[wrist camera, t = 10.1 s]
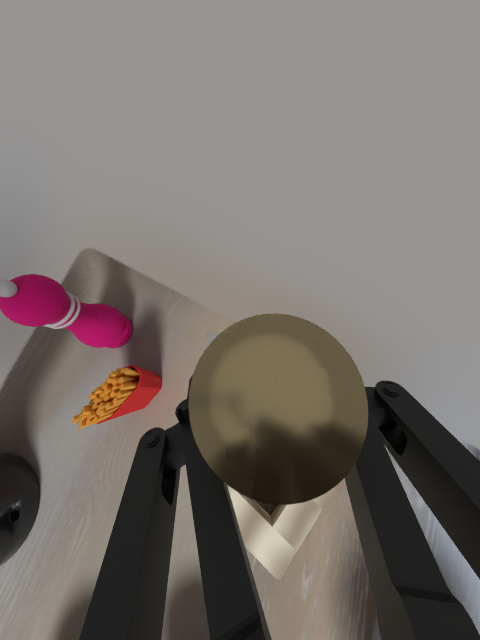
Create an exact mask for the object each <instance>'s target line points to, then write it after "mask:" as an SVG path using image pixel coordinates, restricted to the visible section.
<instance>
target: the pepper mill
mask: <svg viewBox="0 0 480 640" xmlns="http://www.w3.org/2000/svg"><path fill="white" fill-rule="evenodd" d="M0 309H1V311H2V313H3V314H4V315H5V316H6V317H7V318H9V319H10V320H12V321H14V322H16V323H19V324H21V325H25V326H32V327H36V326H46V327H50V328H53V329H60V328H65V329H68V330H70V331H71V332H72V333H73V334H74V335H75V336H76V337H77V339H79V340H80V341H81V342H83V343H84V344H86V345H89V346H92V347H98V348H100V347H108V348H118V347H121V346H122V345H124V344H125V343H127V342H128V340H129V339H130V337H131V335H132V331H133V327H132V323H131V322H130V320H129V319H128V318H126V317H124V316H123V315H122V314H121V313H120V312H119V311H118V310H117V309H116V308H114V307H111V306H109V305H105V304H86V303H82V302H80V301H79V299H78V298H77V297H76V296H75V295H73V294H71V293H69V292H67V291H65V290H64V288H63V287H62V286H61V285H60V284H59V283H58V282H56V281H55V280H53V279H50V278H48V277H45V276H42V275H35V274H29V275H23V276H19V277H16V278H14V279H12V280H10V281H8V280H0Z"/></svg>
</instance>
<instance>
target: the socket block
mask: <svg viewBox="0 0 480 640" xmlns="http://www.w3.org/2000/svg"><path fill="white" fill-rule="evenodd" d="M227 486H228V485H227ZM336 486H337V485H336ZM336 486H335V487H334V488H332V489H331V490H330V491H328V492H327V493H325V494H323V495H321V496H319V497H317V498H315V499H312V500H309V501H306V502H303V503H297V504H291V505H277V507H276V508H275V510H274V511H273V513H272V514H271V516H270V515H269V514H268V513H267V512H266V511H265V510H264V509H263V508H262V507H261V506H260V505H259V504H258V503H257V502H256V501H255V500H253V499H250V498H248V497H246V496H244V495H242V494H240V493H238V492H237V491H235V490H234V489H232V488H231V487H229V486H228V490H229V493H230V497H231V500H232V504H233V507H234V511H235V514H236V518H237V521H238V525H239V528H240V532H241V535H242V539H243V542H244V546H245V547H246V548H247V549H248V550H249V551H250V552H251V553H252V554H253V555H254V556H255V557H256V558H257V559H258V560H259V561H260V562H261V563H262V564H263V565H264V567H265V568H266V569H267V570H268V571H269V572H270V573H271V574H272V575H273V576H274V577H275V578H276V579H277V580H278V581H279V580H280V579H281V577H282V575H283V574H284V572H285V570H286V569H287V567H288V565H289V564H290V562H291V560H292V559H293V557H294V555H295V554H296V552H297V550H298V549H299V547H300V546H301V544H302V542H303V541H304V539H305V537H306V536H307V534H308V532H309V531H310V529H311V527H312V526H313V524H314V522H315V521H316V519H317V517H318V516H319V514H320V512H321V511H322V509H323V508H324V506H325V504H326V503H327V501H328V499H329V498H330V496H331V494H332V493H333V491H334V489H335V488H336Z"/></svg>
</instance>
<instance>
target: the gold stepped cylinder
mask: <svg viewBox="0 0 480 640" xmlns="http://www.w3.org/2000/svg"><path fill="white" fill-rule="evenodd" d="M189 418H190V423H191V428H192V432H193V435H194V438H195V441H196V444H197V446H198V448H199V450H200V452H201V454H202V456H203V458H204V459H205V461H206V462H207V464H208V465H209V467H210V468H211V469H212V470H213V471H214V473H215V474H216V475H217V476H218V477H219V478H220V479H221V480H222V481H223V482H225V483H226V484H227V485H228V486H229V487H231V488H232V489H234V490H235V491H237V492H238V493H240V494H242V495H244V496H246V497H248V498H250V499H253V500H257V501H260V502H263V503H269V504H275V505H291V504H297V503H303V502H306V501H309V500H312V499H315V498H317V497H319V496H321V495H323V494H325V493H327V492H328V491H330V490H331V489H332V488H334V487H335V486H336V485H338V484H339V483H340V482H341V481H342V480H343V479H344V477H345V476H346V475H347V474H348V473H349V471H350V470H351V469H352V467H353V466H354V464H355V462H356V461H357V459H358V457H359V455H360V453H361V450H362V447H363V444H364V441H365V437H366V432H367V426H368V402H367V396H366V391H365V387H364V384H363V381H362V378H361V375H360V373H359V371H358V369H357V366H356V365H355V363H354V361H353V360H352V358H351V356H350V355H349V354H348V352H346V350H345V348H344V347H343V346H342V345H341V344H340V343H339V342H338V341H337V340H336V339H335V338H334V337H333V336H332V335H330V334H329V333H328V332H326V331H325V330H324V329H322V328H320V327H319V326H317V325H315V324H313V323H311V322H309V321H307V320H304V319H301V318H299V317H295V316H290V315H283V314H263V315H257V316H253V317H249V318H246V319H244V320H241V321H239V322H237V323H235V324H233V325H232V326H230V327H228V328H227V329H225V330H224V331H223V332H221V333H220V334H219V335H218V336H217V337H216V338H215V339H214V340H213V341H212V342H211V343H210V344H209V346H208V347H207V348H206V350H205V351H204V353H203V354H202V356H201V358H200V359H199V361H198V364H197V366H196V368H195V371H194V374H193V377H192V381H191V386H190V391H189Z"/></svg>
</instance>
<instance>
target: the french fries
mask: <svg viewBox="0 0 480 640" xmlns="http://www.w3.org/2000/svg"><path fill="white" fill-rule="evenodd" d="M161 386H162V379H161V378H160V377H159V376H158V375H157V374H155V373H154V372H151V371H148V370H145V369H142V368H140V367H137V366H134V365H131V366H128V367H125V368H122V369H119V368H118V369H117V370H116V371H112V372H111V373H110V374H109V377H108V378H107V379H106V382H104V383H103V384H102V385H101V387H97V388H96V389H95V390H94V392H92V393H91V394H90V396H89V399H90V400H91V401H90V403H89V405H87V406H84V407H83V409H82V410H81V414H79V415H76V416H74V418H73V424H75V423H77V422H80V421H82V420H84V419H86V420H84V421H82V422H81V423H80V424H79V429H81V428H84V427H86V426H89V425H91V424H93V423H94V424H96V423H97V424H99V423H101V422H104V421H107V420H110V419H113V418H116V417H119V416H122V415H125V414H128V413H131V412H134V411H137V410H140V409H143V408H145V407H146V406H147V405H148V404H149V403H150V401H151V400H152V399H153V398H154V397H155V396H156V394H157V393H158V392H159V391H160V389H161Z"/></svg>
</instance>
